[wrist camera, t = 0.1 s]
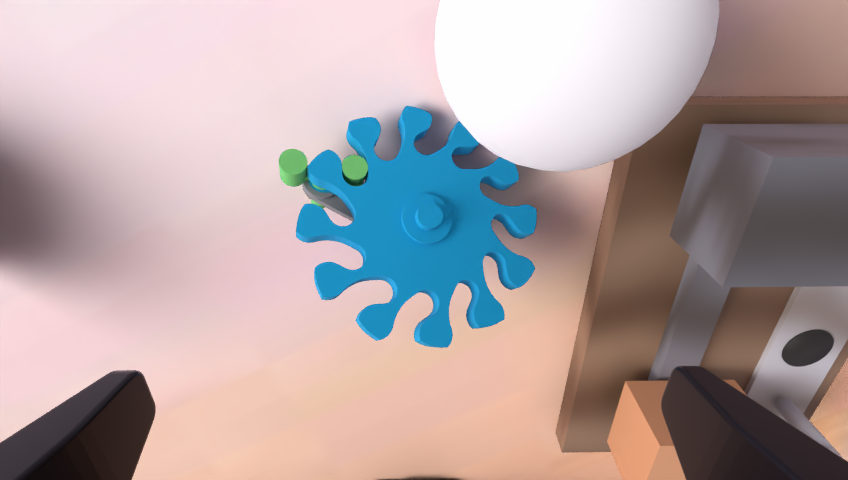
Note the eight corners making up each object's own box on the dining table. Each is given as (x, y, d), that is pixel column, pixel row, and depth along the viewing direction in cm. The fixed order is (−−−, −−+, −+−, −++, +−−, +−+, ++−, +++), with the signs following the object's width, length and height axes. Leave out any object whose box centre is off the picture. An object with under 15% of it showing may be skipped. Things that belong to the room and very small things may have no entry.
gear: (576, 175, 20) (494, 395, 16) (515, 214, 25) (444, 386, 22) (350, 41, 18) (210, 252, 15) (337, 115, 24) (233, 281, 21)
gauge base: (775, 429, 31) (858, 531, 25) (555, 432, 31) (588, 536, 25) (964, 96, 20) (1184, 140, 14) (628, 97, 20) (716, 141, 14)
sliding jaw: (773, 431, 28) (833, 505, 24) (603, 434, 28) (635, 508, 24) (807, 371, 25) (880, 442, 21) (621, 374, 25) (659, 445, 21)
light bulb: (626, 13, 18) (862, 42, 9) (505, 135, 21) (585, 265, 11) (514, -128, 16) (665, -299, 6) (393, 27, 18) (369, 73, 9)
